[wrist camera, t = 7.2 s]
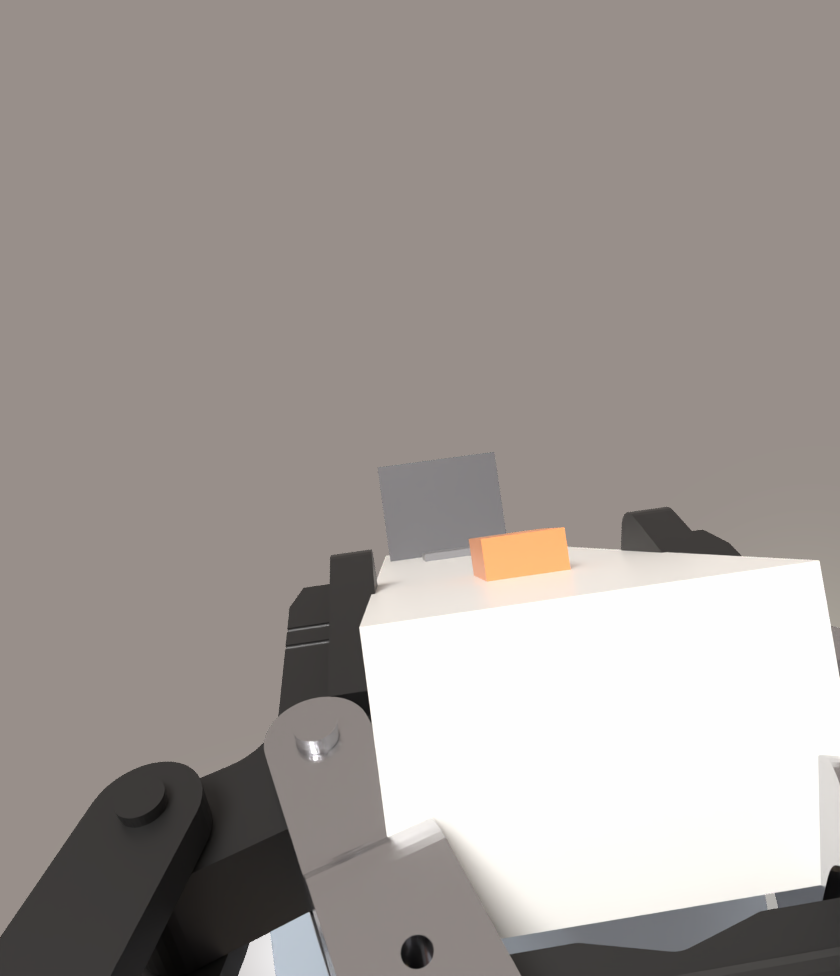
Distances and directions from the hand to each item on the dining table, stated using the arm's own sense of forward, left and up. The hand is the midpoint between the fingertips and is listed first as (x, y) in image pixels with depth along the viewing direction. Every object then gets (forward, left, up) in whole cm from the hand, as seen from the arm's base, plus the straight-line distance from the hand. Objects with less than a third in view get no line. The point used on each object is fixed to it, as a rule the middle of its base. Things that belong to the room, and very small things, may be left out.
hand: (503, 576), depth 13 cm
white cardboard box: (-5, +5, -3) cm, 8 cm away
